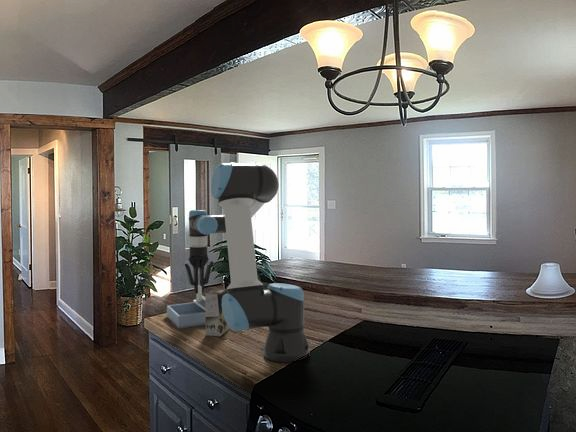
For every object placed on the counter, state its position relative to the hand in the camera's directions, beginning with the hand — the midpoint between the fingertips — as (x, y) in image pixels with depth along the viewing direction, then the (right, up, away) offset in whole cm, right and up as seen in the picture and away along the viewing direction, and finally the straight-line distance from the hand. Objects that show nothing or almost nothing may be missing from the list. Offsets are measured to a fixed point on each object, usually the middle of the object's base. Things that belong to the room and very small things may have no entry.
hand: (199, 300), depth 187 cm
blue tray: (-1, -8, 0) cm, 8 cm away
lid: (+9, -2, +5) cm, 11 cm away
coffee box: (+11, -9, -19) cm, 23 cm away
